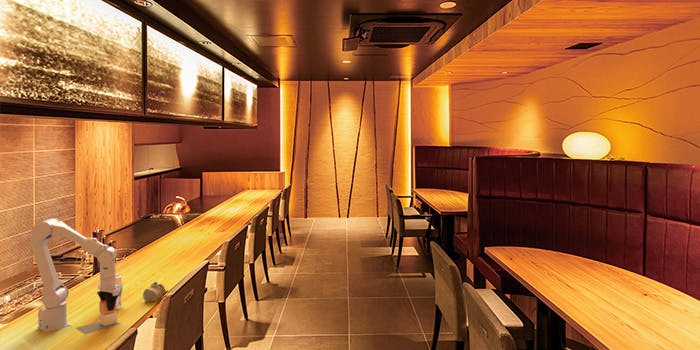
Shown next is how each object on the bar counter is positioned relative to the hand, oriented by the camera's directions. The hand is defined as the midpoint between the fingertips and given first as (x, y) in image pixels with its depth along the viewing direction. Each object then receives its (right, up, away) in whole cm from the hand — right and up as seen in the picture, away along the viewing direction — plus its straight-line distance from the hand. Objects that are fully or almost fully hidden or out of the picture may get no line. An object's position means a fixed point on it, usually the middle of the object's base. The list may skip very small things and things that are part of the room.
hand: (108, 309), depth 192 cm
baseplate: (-3, -7, -3) cm, 8 cm away
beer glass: (-7, -5, +19) cm, 21 cm away
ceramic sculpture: (+6, -5, +33) cm, 34 cm away
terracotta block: (0, -1, 0) cm, 1 cm away
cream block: (0, -6, 0) cm, 6 cm away
